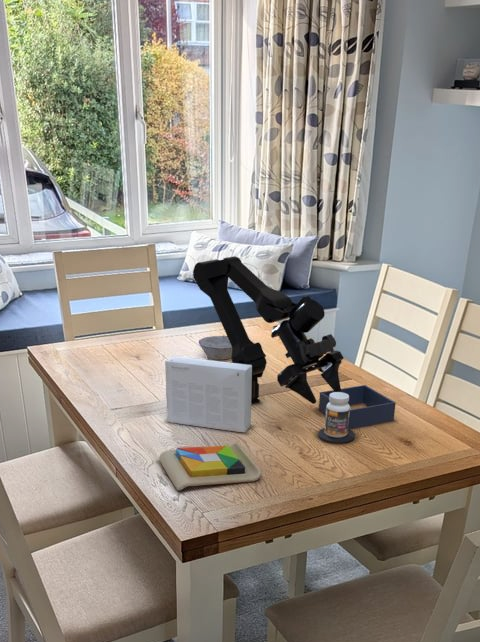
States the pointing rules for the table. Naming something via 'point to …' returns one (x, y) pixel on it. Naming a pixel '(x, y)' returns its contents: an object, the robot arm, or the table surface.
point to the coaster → (342, 440)
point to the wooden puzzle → (208, 465)
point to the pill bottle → (337, 415)
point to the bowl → (216, 347)
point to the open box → (375, 413)
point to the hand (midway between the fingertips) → (327, 398)
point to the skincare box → (209, 393)
